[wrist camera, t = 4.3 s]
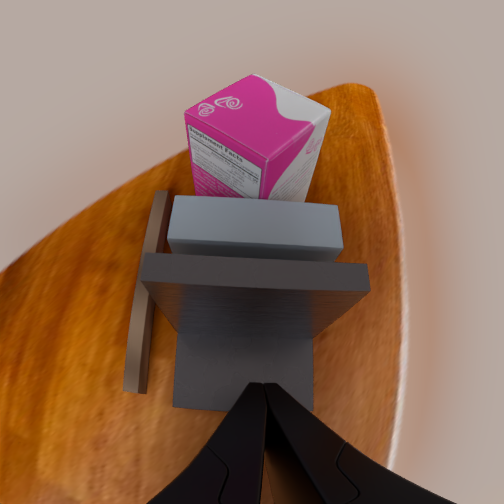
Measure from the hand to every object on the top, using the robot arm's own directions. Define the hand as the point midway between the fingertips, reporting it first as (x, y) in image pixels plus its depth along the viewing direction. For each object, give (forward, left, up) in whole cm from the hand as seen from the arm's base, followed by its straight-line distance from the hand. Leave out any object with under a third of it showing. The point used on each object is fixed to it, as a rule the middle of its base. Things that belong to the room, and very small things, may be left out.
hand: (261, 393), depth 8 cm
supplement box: (+13, 0, -12) cm, 18 cm away
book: (+8, 0, -12) cm, 14 cm away
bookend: (+2, 0, -11) cm, 12 cm away
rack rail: (+7, +7, -11) cm, 15 cm away
